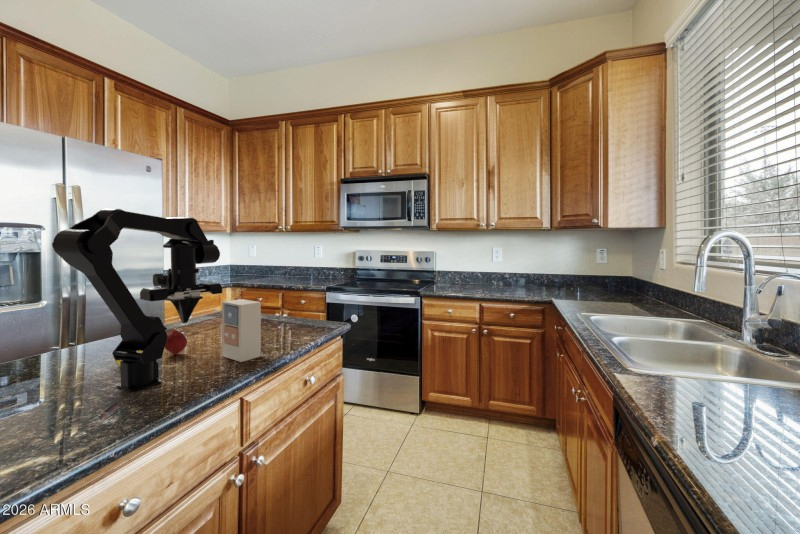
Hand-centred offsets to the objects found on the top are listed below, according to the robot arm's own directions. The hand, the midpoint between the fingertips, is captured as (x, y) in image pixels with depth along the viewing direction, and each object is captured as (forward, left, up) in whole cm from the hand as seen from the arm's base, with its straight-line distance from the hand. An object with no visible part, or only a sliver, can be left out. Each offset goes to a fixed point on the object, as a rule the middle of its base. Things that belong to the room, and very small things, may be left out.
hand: (184, 322), depth 97 cm
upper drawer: (+11, -5, -2) cm, 13 cm away
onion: (+5, +12, -12) cm, 18 cm away
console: (+14, -6, -12) cm, 20 cm away
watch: (-7, +13, -12) cm, 19 cm away
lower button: (+11, -5, -8) cm, 15 cm away
